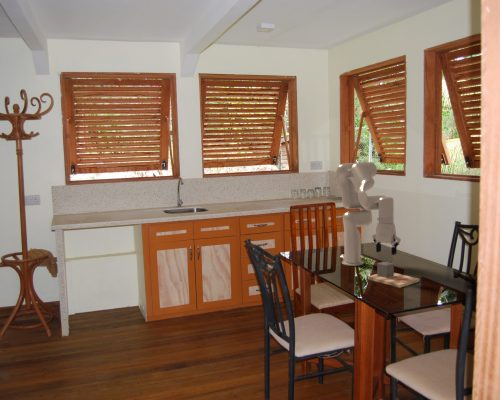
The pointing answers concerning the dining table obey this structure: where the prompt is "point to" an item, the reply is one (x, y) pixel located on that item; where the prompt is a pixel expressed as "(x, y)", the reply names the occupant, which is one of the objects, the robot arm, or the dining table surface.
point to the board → (395, 280)
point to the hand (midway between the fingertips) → (386, 253)
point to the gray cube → (385, 269)
